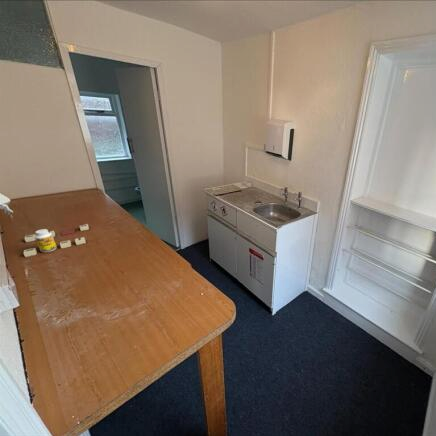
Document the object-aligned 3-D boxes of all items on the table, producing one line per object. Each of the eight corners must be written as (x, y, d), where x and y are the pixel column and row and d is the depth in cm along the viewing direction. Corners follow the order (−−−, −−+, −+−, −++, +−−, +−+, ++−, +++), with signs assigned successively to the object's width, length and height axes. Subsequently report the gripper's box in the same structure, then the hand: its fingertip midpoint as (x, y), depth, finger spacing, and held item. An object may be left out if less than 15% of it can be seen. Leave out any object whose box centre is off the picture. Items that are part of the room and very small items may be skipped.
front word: (25, 257, 104) (23, 252, 104) (26, 253, 107) (24, 249, 106) (85, 242, 118) (84, 239, 117) (85, 240, 120) (84, 236, 119)
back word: (25, 242, 115) (24, 239, 114) (26, 239, 119) (25, 235, 118) (89, 229, 131) (88, 226, 130) (88, 226, 134) (87, 223, 133)
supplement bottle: (39, 254, 107) (31, 234, 103) (42, 248, 111) (34, 229, 107) (56, 251, 110) (48, 231, 106) (58, 245, 114) (50, 227, 110)
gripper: (-66, 199, 86) (-21, 222, 91) (-9, 184, 104) (25, 204, 110) (-73, 210, 87) (-29, 233, 92) (-16, 194, 105) (18, 213, 111)
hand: (1, 217), depth 101 cm, fingers open, 8 cm apart
